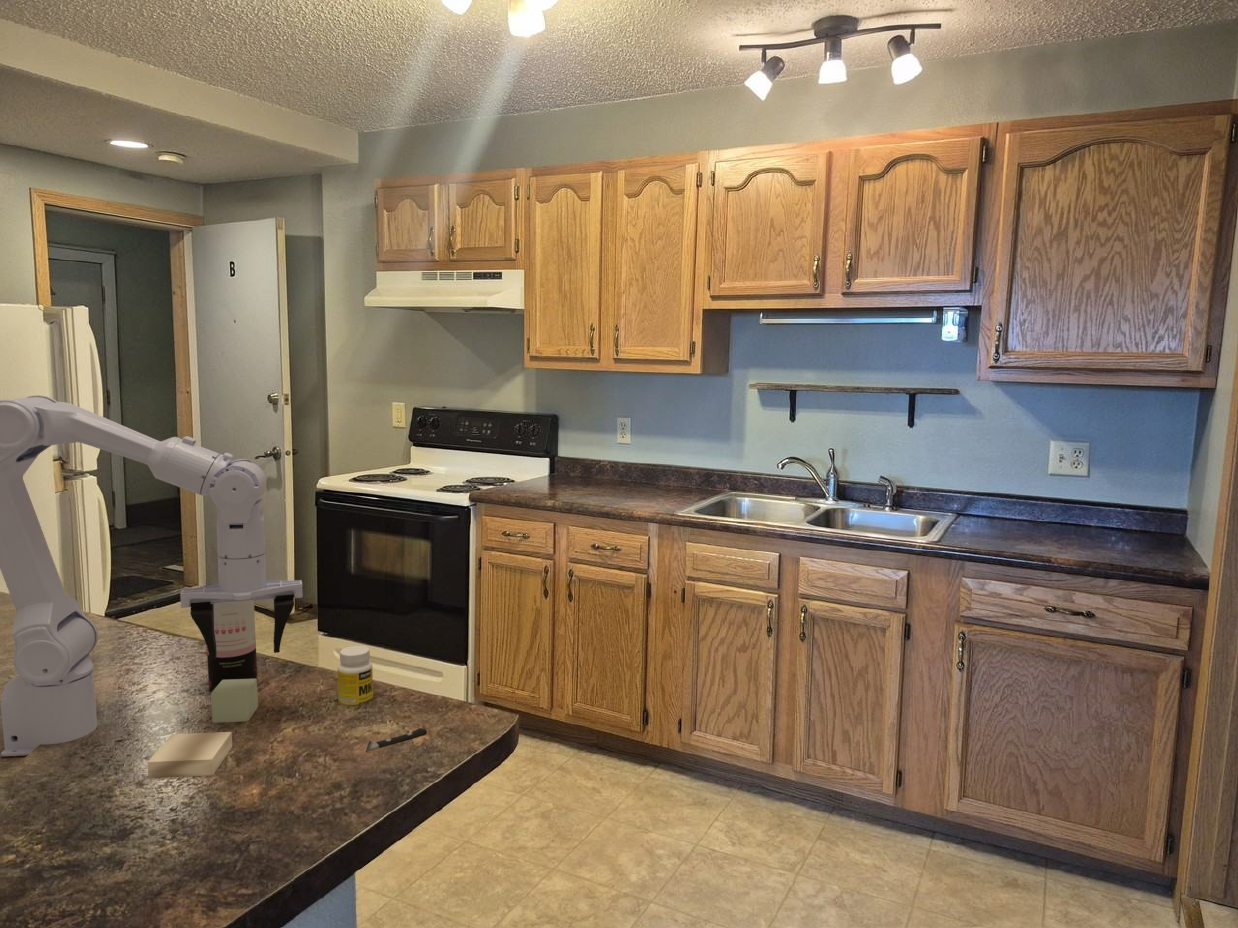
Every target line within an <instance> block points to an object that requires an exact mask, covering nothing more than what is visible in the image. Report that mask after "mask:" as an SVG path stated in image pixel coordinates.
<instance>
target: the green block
mask: <svg viewBox="0 0 1238 928" xmlns="http://www.w3.org/2000/svg"><path fill="white" fill-rule="evenodd" d="M257 681H258V678H257V679H231V680H222V681H221V682H220V683H219V684H218V685H217V687H216V688H215V689H214V690H213V691H212V693H211V692H210V701H211V702H210V703H211V720H212V721H211V723H212V724H214V723H215V724H216V723H234V722H235V723H238V722H239V723H241V722H249V721H250V719H251V718H252V716H253V715H254V713H256V711H257V710H258V707H259V700H258V699H259V698H258V697H259V696H258V683H257Z"/></svg>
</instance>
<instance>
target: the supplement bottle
mask: <svg viewBox="0 0 1238 928" xmlns="http://www.w3.org/2000/svg"><path fill="white" fill-rule="evenodd" d="M370 657H371V653H370V648H369V647H367V646H364V645H351V646H348V647H344V648H342V649H341V650H339V662H340V663H339V664H338V666H337V669H336V670H337V697H338V698H337V700H338V702H339V704H342V705H346V706H357V705H362V704H365V703H368V702H369V701H371V700H372V699H373V697H374V687H373V685H374V684H373V683H374V682H373V679H374V678H373V674H374V673H373V662H372V661H371V660H370Z"/></svg>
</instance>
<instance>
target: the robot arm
mask: <svg viewBox="0 0 1238 928" xmlns="http://www.w3.org/2000/svg"><path fill="white" fill-rule="evenodd" d="M196 442H197V439H196V438H194V437H190V436H188V435H186V436H183V437H182V438H180V437H177V436H172V437H169V438H167V439H164V440H161V441H160V440H157V439H155V438H153V437H151V436H148V435H146V434H143V433H141V432H139V431H137V430H134V429H132V428H129V427H127V426H124V425H122V424H120V423H118V422H115V421H113V420H111V419H108V418H107V417H104V416H101V415H99V414H97V413H94V412H92V411H90V410H87V409H85V408H82V407H80V406H78V405H76V404H73V403H71V402H64V401H57V400H56V399H54V398H52V397H50V396H46V395H41V394H40V395H37V394H36V395H30V396H28V397H27V396H26V397H24V398H18V399H17V398H16V399H10V398H9V399H0V572H1V575H2V577H3V580H4V582H5V585H6V587H7V590H8V593H9V595H10V598H11V601H12V603H13V606H14V609H15V611H16V613H15V617H14V620H13V621H14V622H13V625H12V629H11V637H12V640H13V643H14V653H13V657H12V658H13V660H12V661H13V666H14V670H15V671H16V673H17V674H18V675H16V676H14V677H12V678H11V679H10V680H9V681H8V682H7V683H6V685H5V687H4V688H3V692H2V696H1V700H0V701H1V702H0V711H1V724H2V732H3V734H2V735H3V745H4V749H3V750H2V751H1V752H0V755H1V757H17V756H19V757H20V756H29V755H30V754H31V753H33V751H35V750H36V749H37V748H38V747H39V746H40V745H57V744H58V745H59V744H64V743H68V742H71V741H75V740H78V739H81V738H83V737H86V736H88V735H90V734H91V733H92V732H94V731H95V730H96V729H97V727H98V717H97V703H96V702H97V701H96V691H95V689H96V687H95V677H94V665H93V664H94V663H92V661H91V659H90V658H91V657H90V654H91V653H92V652H93V650H94V649H95V648H96V646H97V644H98V641H99V631H98V627H97V626H96V624H95V623H94V622H93V621H92V620H91V619H90V618H89V617H88V616H87V615H85V613H84V612H83V610H82V608H81V606H80V603H79V602H78V601H77V599H74V598H73V597H71V596H69V594H67V592H66V590H65V588H64V585H63V583H62V580H61V577H60V574H59V572H58V569H57V566H56V564H55V561H54V558H53V556H52V553H51V551H50V548H49V545H48V543H47V540H46V537H45V535H44V532H43V529H42V526H41V524H40V522H39V521H40V520H39V518H38V515H37V513H36V510H35V508H34V505H33V502H32V499H31V497H30V494H29V492H28V489H27V487H26V483H25V480H24V476H25V474H26V472H27V471H28V470H29V468H30V467H31V466H32V464H33V463H34V462H35V460H36V459H37V458H38V456H39V455H40V454H41V453H43V452H44V451H46V450H47V449H49V448H50V447H52V446H54V445H64V444H65V445H66V444H73V443H80V444H84V445H86V446H87V445H88V446H90V447H93V448H96V449H99V450H102V451H104V452H107V453H111V454H115V455H118V456H121V457H124V458H127V459H130V460H133V461H135V462H139V463H141V464H144V465H146V466H148V468H149V470H150V472H151V473H152V475H153V477H154V478H155V479H156V480H160V481H163V482H165V483H168V484H170V485H172V486H176V487H178V488H181V489H184V490H187V491H189V492H193V493H194V494H197V495H200V496H202V497H210V499H211V501H212V502H213V504H215V505H216V515H217V517H216V545H217V546H216V547H217V569H218V571H217V573H218V583H217V584H213V585H207V586H206V585H205V586H200V587H194V588H192V587H191V588H186V589H181V591H180V593H179V594H180V595H179V597H180V608H181V609H185V608H186V609H187V608H190V613H189V615H190V616H191V618H192V619H191V620H193V622H194V623H195V624H196V626H197V628H198V629H199V631H200V633H201V636H202V638H203V640H204V641H205V645H206V649H207V648H208V652H209V656H210V660H215V659H216V655H217V651H216V640H215V632H214V604H216V603H228V602H239V601H251V600H254V601H260V600H270V599H271V600H272V599H273V614H274V615H273V617H274V618H273V619H274V627H273V630H274V631H273V653H274V654H277V653H280V651H281V643H282V639H283V633H284V630H285V628H286V626H287V622H288V620H289V618H290V615H291V613H292V611H293V609H294V606H295V599H300V598H303V593H304V592H303V581H302V579H300V580H299V579H298V580H268V579H267V564H266V563H267V559H266V522H265V517H264V509H265V508H264V504H263V502H264V501H263V498H261V497H262V495H263V494H264V493H265V490H266V489H267V477H266V474H265V472H264V470H263V469H262V468H261V467H260V466H259V465H258V464H256V463H254V462H252V461H251V460H250V459H248V458H241V459H240V458H238V459H234V454H232V453H229V452H225V453H224V454H221V453H219V452H216V451H215V450H214V451H213V450H211V449H208V448H205V447H203V446H200V445H199V444H196ZM233 459H234V460H233Z"/></svg>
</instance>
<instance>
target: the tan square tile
mask: <svg viewBox="0 0 1238 928" xmlns="http://www.w3.org/2000/svg"><path fill="white" fill-rule="evenodd" d="M232 733H233V732H232V731H225V732H224V731H222V732H221V731H220V732H219V731H218V732H217V731H216V732H215V731H214V732H194V733H193V732H191V733H172V734H170V736H169V737H167V739H166V740H165V741H164V742H163V744H161V746H160V747H159V748H158V749H157V750H156V752H155V753H154V754H152V756H151V757H150V758H149V760H148V761H147V779H161V778H162V779H163V778H184V777H203V776H214V774H215V772H216V771H217V770H218V768H219V766H221V764H222V763H223V761H224V760H225V758H226V757H227V755H228V753H229V752H230V751H231V749H232V748H233V734H232Z"/></svg>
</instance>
